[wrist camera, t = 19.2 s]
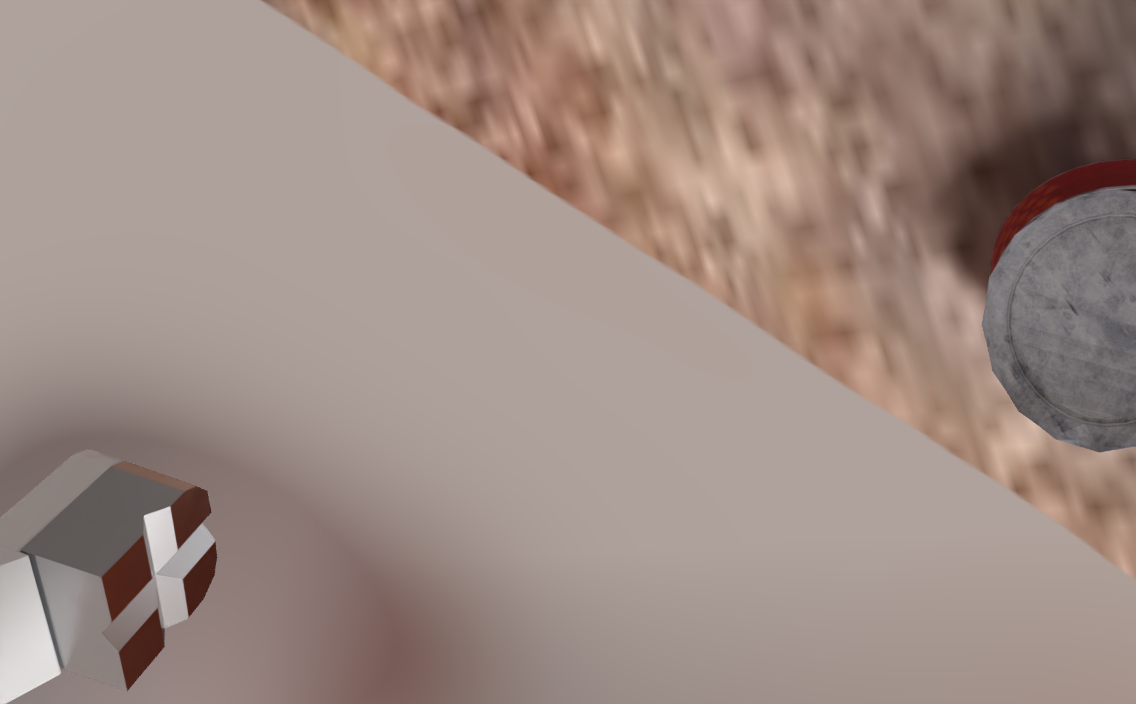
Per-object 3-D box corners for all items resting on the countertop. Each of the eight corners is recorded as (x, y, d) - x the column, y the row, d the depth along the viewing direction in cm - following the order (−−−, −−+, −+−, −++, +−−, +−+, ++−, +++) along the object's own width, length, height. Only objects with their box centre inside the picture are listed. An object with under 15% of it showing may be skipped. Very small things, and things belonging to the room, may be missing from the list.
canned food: (996, 267, 53) (887, 329, 47) (1124, 98, 47) (1017, 146, 40) (1193, 424, 49) (1100, 516, 43) (1367, 263, 42) (1286, 345, 36)
